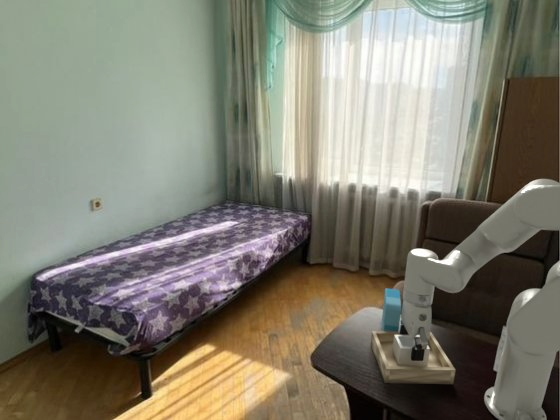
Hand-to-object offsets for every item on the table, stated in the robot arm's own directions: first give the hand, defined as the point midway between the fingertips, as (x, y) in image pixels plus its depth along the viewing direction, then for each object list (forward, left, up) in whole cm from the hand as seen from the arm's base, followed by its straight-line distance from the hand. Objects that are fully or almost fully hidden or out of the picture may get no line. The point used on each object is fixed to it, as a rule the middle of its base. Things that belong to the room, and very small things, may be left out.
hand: (410, 348), depth 100 cm
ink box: (-5, -26, -5) cm, 27 cm away
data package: (+16, +1, -5) cm, 17 cm away
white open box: (0, 0, -4) cm, 4 cm away
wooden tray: (0, 0, -5) cm, 5 cm away
